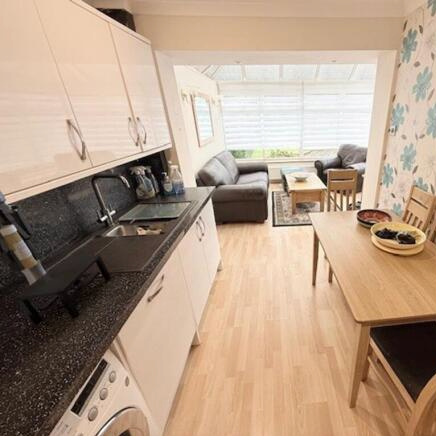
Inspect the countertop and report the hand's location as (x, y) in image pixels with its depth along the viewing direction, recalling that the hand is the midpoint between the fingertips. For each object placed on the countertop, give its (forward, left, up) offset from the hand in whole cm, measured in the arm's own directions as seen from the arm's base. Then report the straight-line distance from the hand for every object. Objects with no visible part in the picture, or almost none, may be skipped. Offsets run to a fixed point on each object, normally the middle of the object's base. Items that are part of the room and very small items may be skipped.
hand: (26, 264), depth 72 cm
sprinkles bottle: (0, 0, -1) cm, 1 cm away
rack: (-4, +12, -24) cm, 28 cm away
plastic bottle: (-23, +22, -25) cm, 41 cm away
